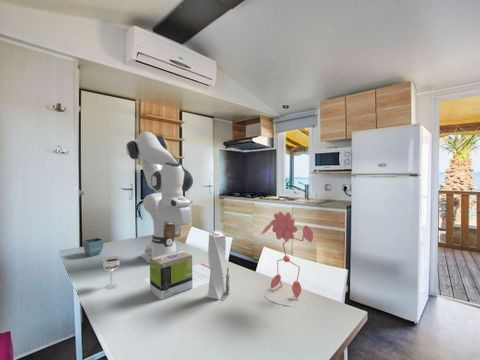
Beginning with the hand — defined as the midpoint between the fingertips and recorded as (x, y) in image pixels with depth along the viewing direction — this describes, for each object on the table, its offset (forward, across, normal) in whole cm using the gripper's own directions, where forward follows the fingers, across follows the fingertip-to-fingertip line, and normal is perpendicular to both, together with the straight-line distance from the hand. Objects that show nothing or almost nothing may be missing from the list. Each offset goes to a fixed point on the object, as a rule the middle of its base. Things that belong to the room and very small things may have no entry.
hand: (172, 232), depth 103 cm
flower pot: (+25, -73, -7) cm, 77 cm away
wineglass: (+25, -22, -16) cm, 37 cm away
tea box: (+25, 0, 0) cm, 25 cm away
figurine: (+25, +37, +29) cm, 53 cm away
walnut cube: (+2, 0, 0) cm, 2 cm away
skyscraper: (+25, +18, +10) cm, 33 cm away
